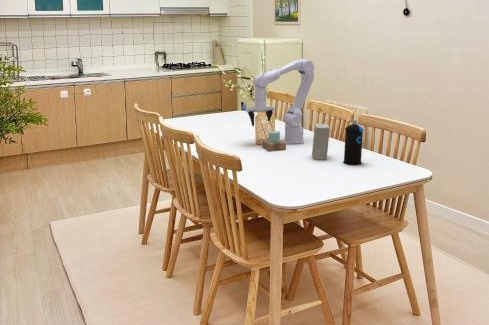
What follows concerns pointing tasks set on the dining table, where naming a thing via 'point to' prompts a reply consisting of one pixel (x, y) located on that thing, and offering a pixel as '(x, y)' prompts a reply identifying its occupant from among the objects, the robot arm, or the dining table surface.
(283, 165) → the dining table surface
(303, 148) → the dining table surface
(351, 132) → the aerosol can
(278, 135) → the teal block
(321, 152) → the skincare box
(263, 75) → the robot arm
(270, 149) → the walnut block
